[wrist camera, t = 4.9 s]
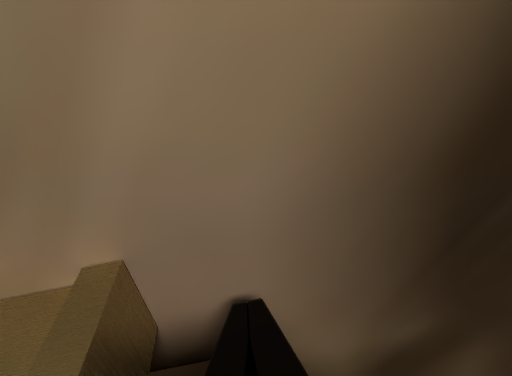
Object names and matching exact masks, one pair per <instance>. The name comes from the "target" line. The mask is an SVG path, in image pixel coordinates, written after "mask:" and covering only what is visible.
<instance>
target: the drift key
mask: <svg viewBox="0 0 512 376" xmlns="http://www.w3.org/2000/svg"><path fill="white" fill-rule="evenodd" d="M156 334H157V326H156V324H155V322H154V320H153V318H152V316H151V314H150V312H149V311H148V309H147V307H146V305H145V303H144V301H143V299H142V297H141V295H140V293H139V291H138V289H137V288H136V286H135V284H134V282H133V280H132V278H131V276H130V274H129V272H128V270H127V268H126V267H125V265H124V263H123V261H122V260H121V261H116V262H111V263H106V264H101V265H96V266H91V267H86V268H82V269H81V271H80V273H79V275H78V277H77V279H76V281H75V283H74V285H73V286H71V287H66V288H61V289H56V290H51V291H46V292H41V293H36V294H31V295H26V296H21V297H16V298H11V299H6V300H1V301H0V376H149V370H150V365H151V360H152V355H153V349H154V344H155V339H156Z"/></svg>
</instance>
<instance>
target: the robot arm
mask: <svg viewBox="0 0 512 376" xmlns="http://www.w3.org/2000/svg"><path fill="white" fill-rule="evenodd" d="M204 376H308V374H307V373H306V371H305V369H304V368H303V366H302V364H301V363H300V361H299V359H298V358H297V356H296V354H295V353H294V351H293V349H292V348H291V346H290V344H289V343H288V341H287V339H286V338H285V336H284V334H283V333H282V331H281V329H280V328H279V326H278V324H277V323H276V321H275V319H274V318H273V316H272V314H271V313H270V311H269V309H268V308H267V306H266V304H265V303H264V301H263V299H261V298H258V299H253V300H249V301H248V303H247V302H246V301H243V302H238V303H234V304H233V305H232V307H231V309H230V312H229V314H228V317H227V319H226V322H225V324H224V327H223V329H222V332H221V334H220V337H219V339H218V342H217V345H216V347H215V350H214V352H213V355H212V357H211V360H210V362H209V365H208V367H207V370H206V372H205V375H204Z"/></svg>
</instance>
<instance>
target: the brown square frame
mask: <svg viewBox="0 0 512 376" xmlns="http://www.w3.org/2000/svg"><path fill="white" fill-rule="evenodd" d="M209 362H210V360H208V361H204V362H199V363H194V364H189V365H184V366H179V367H174V368H169V369H164V370H159V371H154V372H149V376H204V375H205V372H206V370H207V367H208V365H209Z"/></svg>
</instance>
